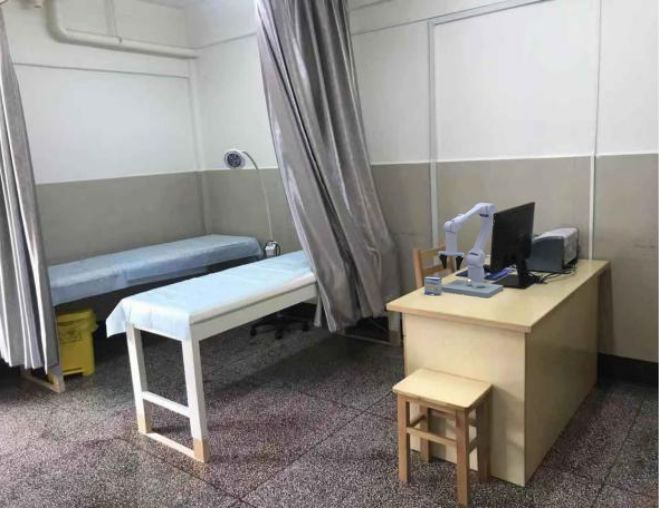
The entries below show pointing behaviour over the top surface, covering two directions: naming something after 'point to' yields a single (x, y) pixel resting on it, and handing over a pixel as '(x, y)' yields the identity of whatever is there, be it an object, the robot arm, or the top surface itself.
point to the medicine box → (433, 285)
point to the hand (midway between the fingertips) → (451, 269)
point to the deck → (472, 288)
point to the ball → (469, 282)
